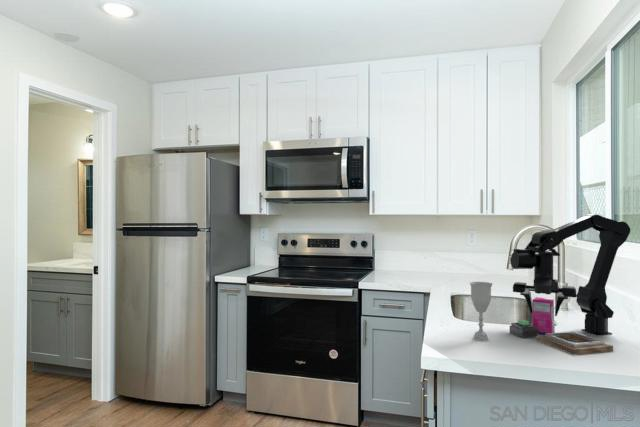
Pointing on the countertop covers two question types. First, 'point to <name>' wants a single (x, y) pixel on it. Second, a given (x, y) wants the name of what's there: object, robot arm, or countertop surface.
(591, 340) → the wooden picture frame
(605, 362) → the countertop surface
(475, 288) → the chalice
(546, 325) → the supplement box
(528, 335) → the control block
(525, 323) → the button
